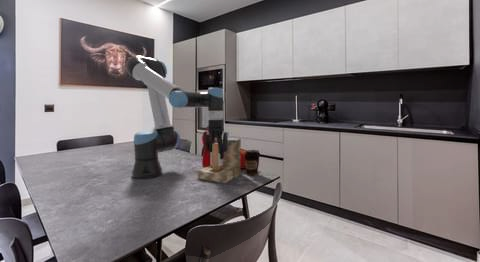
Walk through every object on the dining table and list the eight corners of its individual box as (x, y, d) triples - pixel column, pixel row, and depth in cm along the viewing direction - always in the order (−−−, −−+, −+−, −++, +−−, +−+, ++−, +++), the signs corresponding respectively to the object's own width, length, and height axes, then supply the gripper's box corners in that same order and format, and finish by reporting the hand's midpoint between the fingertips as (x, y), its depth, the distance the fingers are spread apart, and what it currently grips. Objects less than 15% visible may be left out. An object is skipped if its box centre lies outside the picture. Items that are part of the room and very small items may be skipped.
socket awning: (197, 178, 120) (197, 141, 118) (215, 170, 135) (215, 137, 133) (224, 183, 113) (224, 143, 111) (240, 173, 128) (240, 139, 126)
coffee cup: (258, 177, 122) (259, 152, 120) (243, 176, 124) (243, 152, 122) (260, 172, 130) (260, 149, 129) (245, 171, 132) (246, 148, 131)
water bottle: (208, 163, 151) (208, 124, 148) (221, 165, 144) (221, 125, 141) (198, 166, 143) (197, 125, 140) (211, 169, 137) (210, 126, 134)
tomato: (224, 169, 136) (224, 151, 135) (233, 164, 149) (233, 147, 148) (246, 171, 132) (247, 153, 131) (253, 166, 144) (253, 149, 143)
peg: (211, 171, 119) (210, 144, 118) (215, 169, 123) (214, 142, 121) (217, 172, 117) (217, 144, 116) (221, 170, 121) (221, 143, 119)
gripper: (197, 119, 118) (198, 164, 120) (226, 120, 110) (227, 168, 113) (206, 118, 124) (206, 161, 127) (234, 119, 117) (234, 165, 119)
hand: (216, 164), depth 120 cm, fingers closed on peg, 4 cm apart
